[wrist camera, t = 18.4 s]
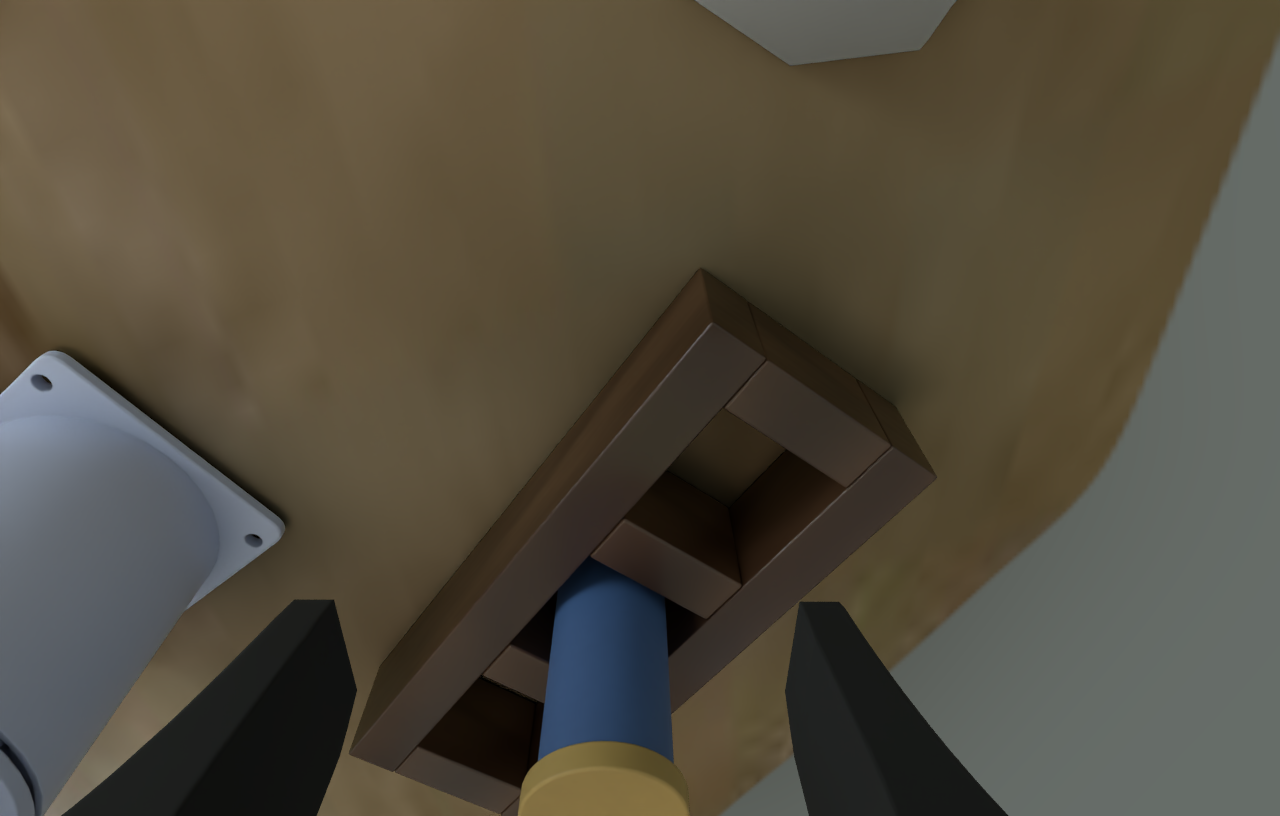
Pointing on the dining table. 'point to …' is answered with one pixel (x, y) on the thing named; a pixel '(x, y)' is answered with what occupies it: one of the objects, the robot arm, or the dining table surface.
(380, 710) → the holder
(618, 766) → the capped tube
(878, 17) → the flask
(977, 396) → the dining table surface
